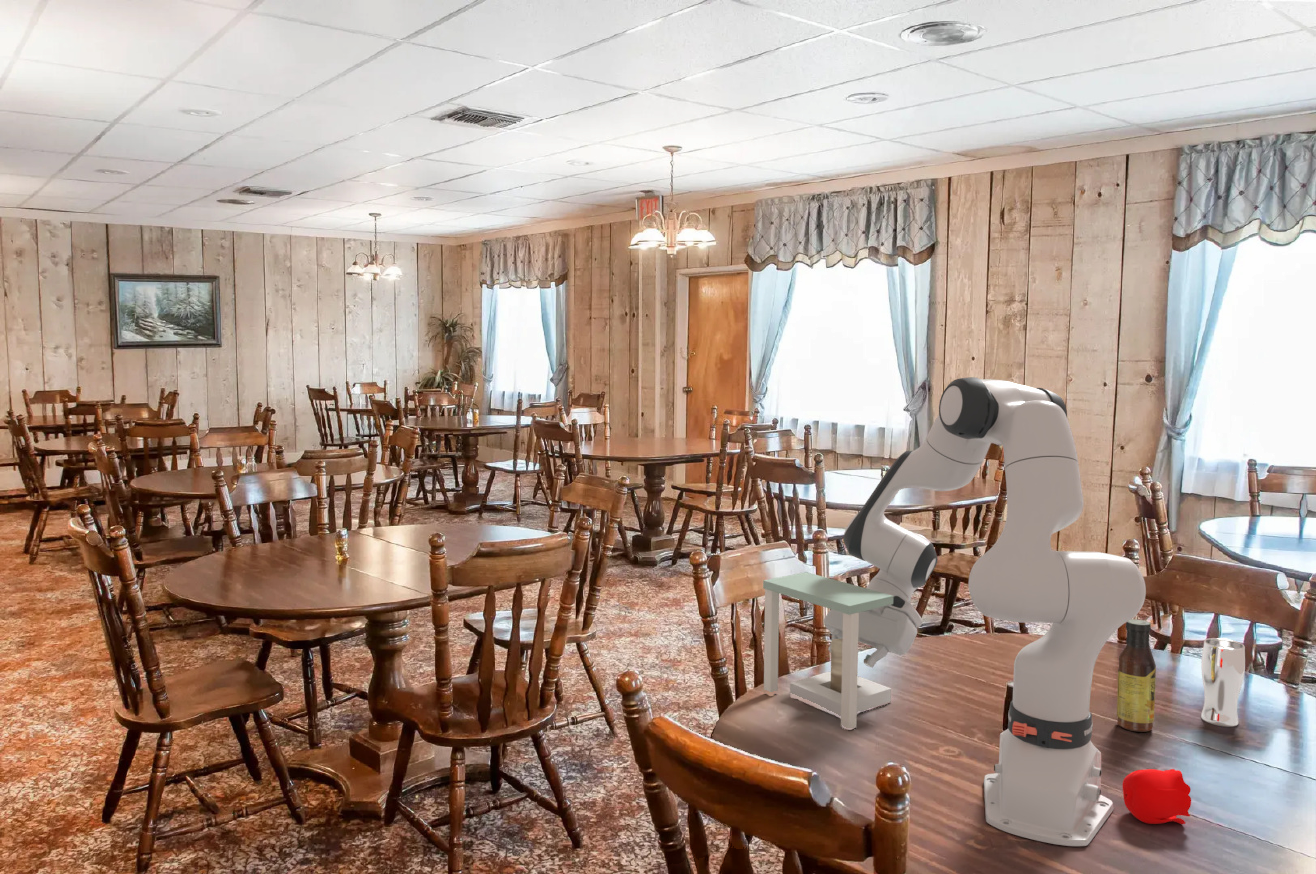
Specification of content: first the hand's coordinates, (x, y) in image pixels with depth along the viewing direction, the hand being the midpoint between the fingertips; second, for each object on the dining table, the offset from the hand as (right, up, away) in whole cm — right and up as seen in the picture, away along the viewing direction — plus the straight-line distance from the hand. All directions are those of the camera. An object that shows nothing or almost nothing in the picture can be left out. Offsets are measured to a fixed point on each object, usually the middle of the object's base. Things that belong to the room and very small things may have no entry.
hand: (849, 658), depth 187 cm
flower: (+36, -13, -48) cm, 61 cm away
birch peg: (-2, -8, -1) cm, 8 cm away
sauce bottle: (+50, -10, -14) cm, 53 cm away
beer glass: (+68, -9, -11) cm, 69 cm away
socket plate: (-2, -8, -1) cm, 8 cm away
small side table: (-6, -8, -4) cm, 11 cm away
